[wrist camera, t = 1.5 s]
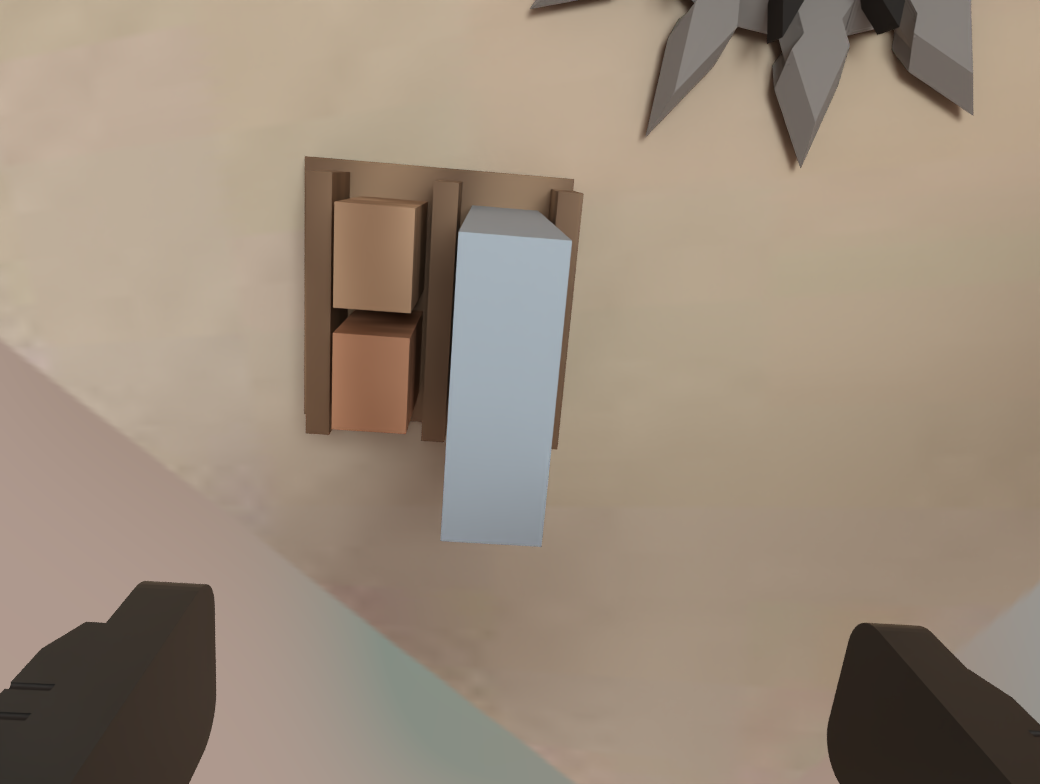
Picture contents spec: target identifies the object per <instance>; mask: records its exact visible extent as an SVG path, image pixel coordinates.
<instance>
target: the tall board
mask: <svg viewBox="0 0 1040 784" xmlns="http://www.w3.org/2000/svg"><path fill="white" fill-rule="evenodd" d="M571 247H572V240H571V239H570V238H568V237H567V236H566V235H565V234H564V233H563V232H562V231H561V230H559V229H558V228H557V227H556V226H555V225H554V224H553V223H551V222H550V221H549V220H548V219H547V218H546V217H545V216H544V215H542V214H541V213H540V212H539V211H535V210H523V209H511V208H499V207H487V206H475V205H472V207H471V209H470V211H469V213H468V215H467V216H466V218H465V220H464V222H463V224H462V226H461V228H460V230H459V233H458V250H457V267H456V284H455V301H454V318H453V336H452V353H451V370H450V387H449V404H448V422H447V439H446V456H445V473H444V490H443V508H442V525H441V541H448V542H466V543H484V544H501V545H519V546H537V547H542V537H543V527H544V517H545V507H546V497H547V487H548V477H549V467H550V457H551V447H552V437H553V427H554V417H555V407H556V397H557V387H558V377H559V367H560V357H561V347H562V337H563V327H564V317H565V307H566V297H567V287H568V277H569V267H570V257H571Z"/></svg>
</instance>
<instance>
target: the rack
mask: <svg viewBox="0 0 1040 784" xmlns="http://www.w3.org/2000/svg"><path fill="white" fill-rule="evenodd" d="M573 186H574V179H565V178H553V177H541V176H530V175H518V174H506V173H495V172H483V171H471V170H459V169H448V168H436V167H424V166H413V165H401V164H389V163H378V162H366V161H354V160H343V159H331V158H319V157H306V156H305V357H304V414H306V433H309V434H325V435H329V434H330V432H331V431H332V355H333V332H334V331H335V330H336V329H337V328H338V327H339V326H340V325H341V324H342V323H343V322H344V321H345V320H346V319H347V318H348V317H349V316H350V315H351V313H352V312H353V311H354V310H355V309H346V308H333V275H334V202H335V201H340V200H344V199H349V198H354V197H359V196H366V197H378V198H390V199H402V200H414V201H427V202H428V214H427V236H426V257H425V279H424V291H423V292H422V294H421V296H420V298H419V300H418V301H417V303H416V305H415V307H414V308H413V310H418V311H423V322H422V343H421V365H420V386H419V394H418V398H417V401H416V404H415V407H414V410H413V413H412V416H411V419H410V421H420V422H422V436H421V441H434V442H444V440H445V434H446V428H447V422H448V404H449V387H450V370H451V353H452V336H453V318H454V301H455V284H456V267H457V250H458V233H459V230H460V228H461V226H462V224H463V222H464V220H465V218H466V216H467V215H468V213H469V211H470V209H471V207H472V205H475V206H487V207H499V208H511V209H523V210H535V211H539V212H540V213H541V214H542V215H544V216H545V217H546V218H547V219H548V220H549V221H550V222H551V223H553V224H554V225H555V226H556V227H557V228H558V229H559V230H561V231H562V232H563V233H564V234H565V235H566V236H567V237H568V238H570V239H571V240H572V247H571V257H570V267H569V277H568V287H567V297H566V307H565V317H564V327H563V337H562V347H561V357H560V367H559V377H558V387H557V397H556V407H555V417H554V427H553V437H552V447H551V449H557V446H558V437H559V427H560V417H561V407H562V398H563V388H564V378H565V368H566V359H567V349H568V339H569V330H570V320H571V310H572V300H573V291H574V281H575V271H576V261H577V252H578V242H579V232H580V222H581V213H582V203H583V193H579V192H575V191H573Z"/></svg>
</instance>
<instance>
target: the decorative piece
mask: <svg viewBox="0 0 1040 784" xmlns="http://www.w3.org/2000/svg"><path fill="white" fill-rule="evenodd" d="M571 1H576V0H535V2H534V3H533V5H532V6H531V8H530V9H534V8H539V7H544V6H549V5H555V4H560V3H565V2H571ZM692 1H693V2H694V4H693V6H692V7H691V8H690V10H689V11H688V12H687V13H686V14H685V15H684V16H682V17H681V18H680V19H678V21H677V23H676V25H675V26H674V28H673V30H672V32H671V34H670V36H669V37H668V40H667V45H666V49H665V54H664V58H663V62H662V67H661V71H660V76H659V80H658V84H657V89H656V93H655V98H654V102H653V106H652V111H651V115H650V120H649V124H648V128H647V133H646V136H647V135H648V134H649V133H650V132H651V131H652V130H653V129H654V128H655V127H656V126H657V125H658V124H659V123H660V122H661V121H662V120H663V118H664V117H665V116H666V115H667V114H668V113H669V112H670V111H671V110H672V109H673V108H674V107H675V106H676V105H677V104H678V103H679V102H680V101H681V100H682V99H683V98H684V97H685V96H686V94H687V93H688V92H689V91H690V90H691V89H692V88H693V87H694V86H695V85H696V84H697V83H698V82H699V81H700V80H701V79H702V78H703V77H704V76H705V75H706V74H707V73H708V72H709V70H710V69H711V68H712V67H713V66H714V65H715V63H716V62H717V60H718V58H719V57H720V55H721V53H722V52H723V50H724V48H725V47H726V45H727V43H728V42H729V40H730V38H731V37H732V35H733V33H734V32H735V30H736V28H737V27H741V28H745V29H748V30H752V31H756V32H760V33H764V34H767V44H768V43H770V42H773V41H775V40H778V39H779V42H780V46H781V49H782V53H781V55H780V56H779V57H778V59H777V60H776V61H775V63H774V64H773V65H772V67H773V79H774V90H775V93H776V96H777V99H778V102H779V105H780V108H781V111H782V114H783V117H784V120H785V123H786V126H787V129H788V132H789V135H790V138H791V141H792V144H793V147H794V150H795V153H796V156H797V159H798V162H799V165H800V168H801V167H802V164H803V162H804V160H805V158H806V155H807V153H808V151H809V149H810V147H811V144H812V142H813V140H814V138H815V135H816V133H817V131H818V129H819V127H820V124H821V122H822V120H823V118H824V115H825V113H826V111H827V109H828V107H829V104H830V102H831V100H832V98H833V96H834V93H835V91H836V89H837V87H838V84H839V80H840V77H841V74H842V70H843V67H844V63H845V60H846V57H847V53H848V50H849V46H850V44H849V41H848V37H847V36H848V35H852V34H857V33H861V32H865V31H869V30H873V29H874V30H875V31H876V33H877V35H878V34H881V33H884V32H887V31H890V30H893V29H894V31H895V33H894V39H893V44H892V51H893V52H894V54H895V55H896V56H897V57H898V59H899V60H900V61H901V63H902V64H903V65H904V67H905V68H906V69H907V71H908V72H910V73H911V74H912V75H914V76H915V77H917V78H918V79H920V80H921V81H923V82H924V83H926V84H927V85H929V86H930V87H932V88H933V89H935V90H936V91H938V92H939V93H940V94H942V95H943V96H945V97H946V98H948V99H949V100H951V101H952V102H954V103H955V104H957V105H958V106H960V107H961V108H963V109H964V110H965V111H967V112H968V113H970V114H971V115H973V58H972V20H971V0H692Z"/></svg>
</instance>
